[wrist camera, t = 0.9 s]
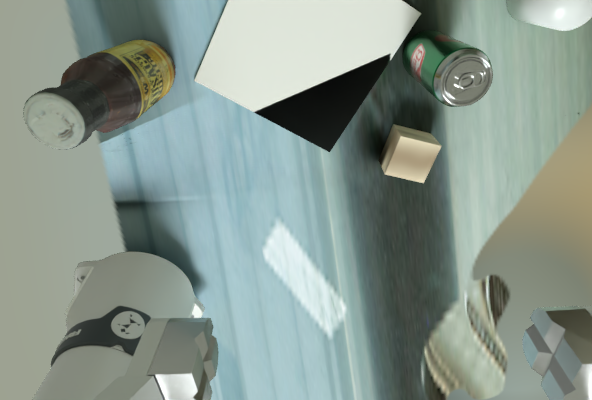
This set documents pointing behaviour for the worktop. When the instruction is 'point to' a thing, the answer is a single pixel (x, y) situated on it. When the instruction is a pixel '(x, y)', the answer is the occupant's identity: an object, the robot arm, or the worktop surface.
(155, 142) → the worktop surface
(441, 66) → the soda can
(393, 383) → the worktop surface
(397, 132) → the birch block
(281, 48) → the mat
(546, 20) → the grey cylinder
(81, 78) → the sauce bottle
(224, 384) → the worktop surface
